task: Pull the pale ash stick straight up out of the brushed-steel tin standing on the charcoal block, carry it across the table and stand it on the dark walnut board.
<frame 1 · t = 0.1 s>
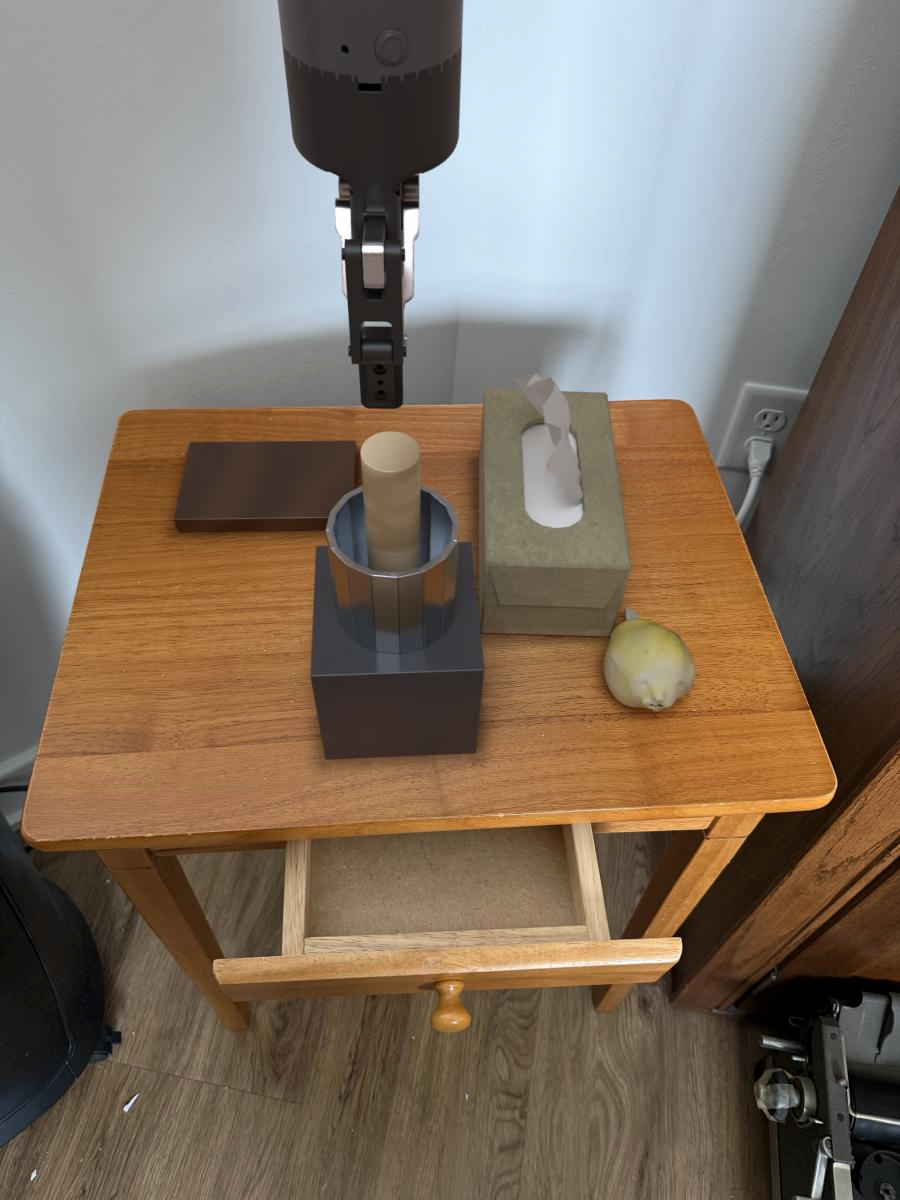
hand: (384, 354, 50), 22 cm above the table, tool pointing down, fingers open, 8 cm apart
stick: (395, 599, 54), point 10 cm above the table, touching tin
tissue box: (539, 545, 71), on the table
tin: (395, 604, 54), resting on stand
stand: (398, 692, 62), on the table
board: (270, 491, 74), on the table
fruit: (634, 674, 64), on the table
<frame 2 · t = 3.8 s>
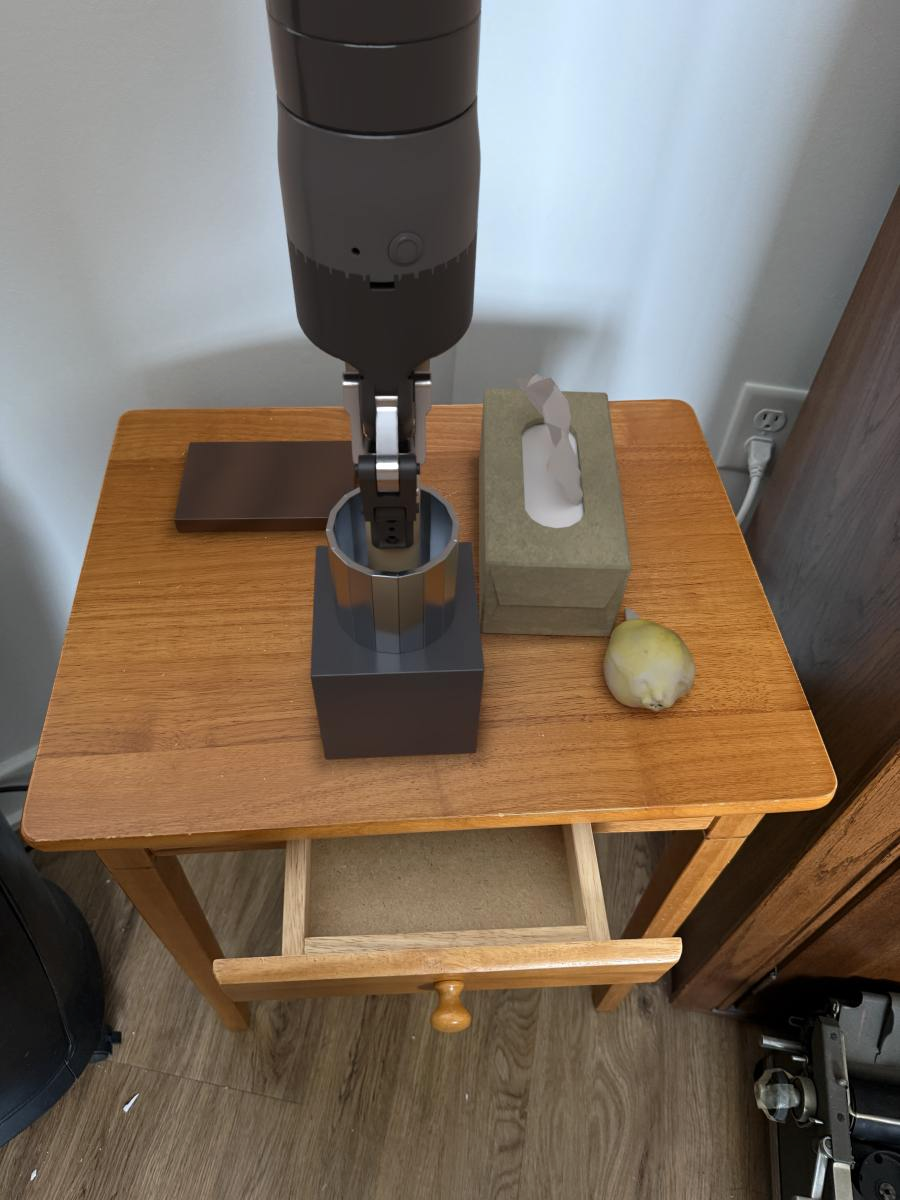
hand: (392, 518, 48), 18 cm above the table, tool pointing down, fingers closed on stick, 3 cm apart
stick: (395, 599, 54), point 11 cm above the table, touching gripper, tin
everything else where it was.
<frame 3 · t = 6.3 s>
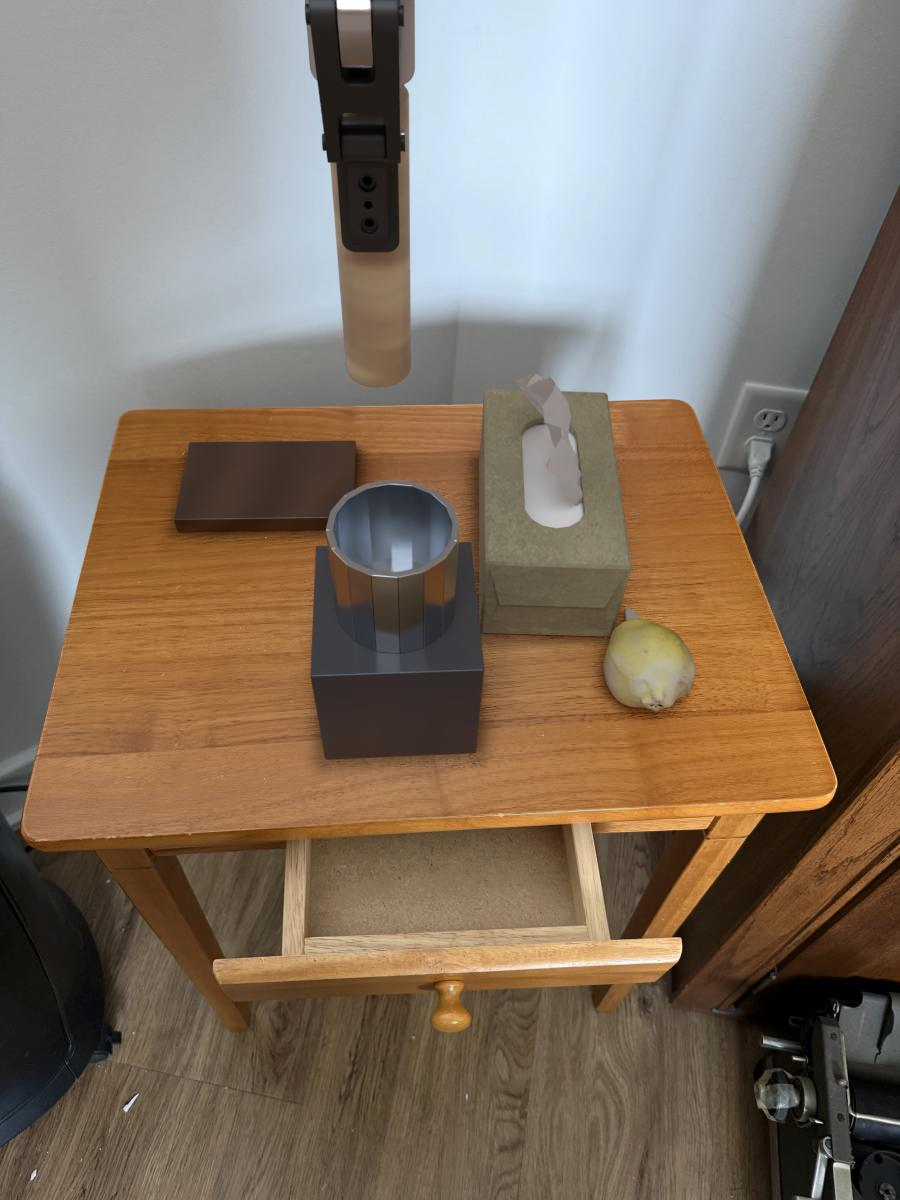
hand: (371, 221, 36), 34 cm above the table, tool pointing down, fingers closed on stick, 3 cm apart
stick: (378, 367, 41), point 27 cm above the table, touching gripper
everything else where it was.
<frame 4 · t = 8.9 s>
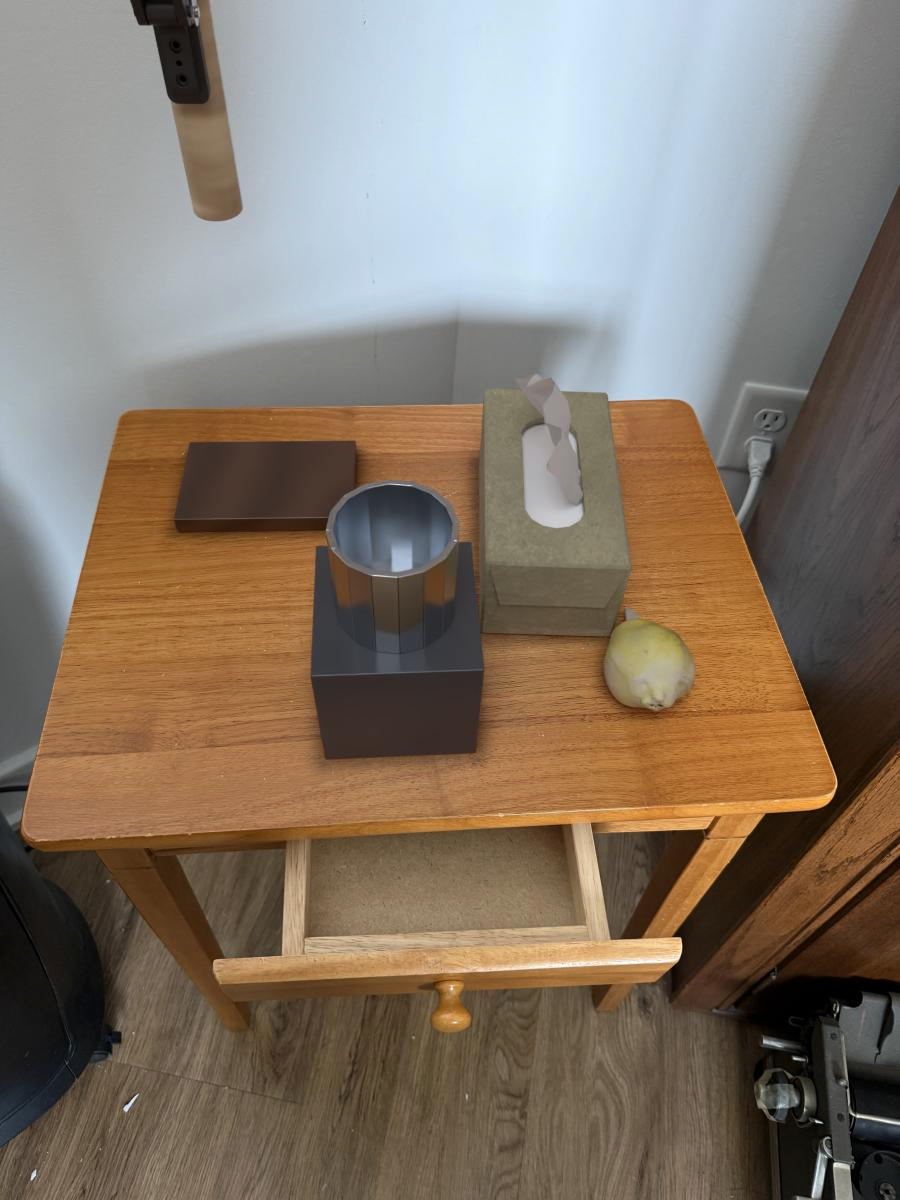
hand: (194, 85, 49), 31 cm above the table, tool pointing down, fingers closed on stick, 3 cm apart
stick: (218, 209, 55), point 24 cm above the table, touching gripper
everything else where it was.
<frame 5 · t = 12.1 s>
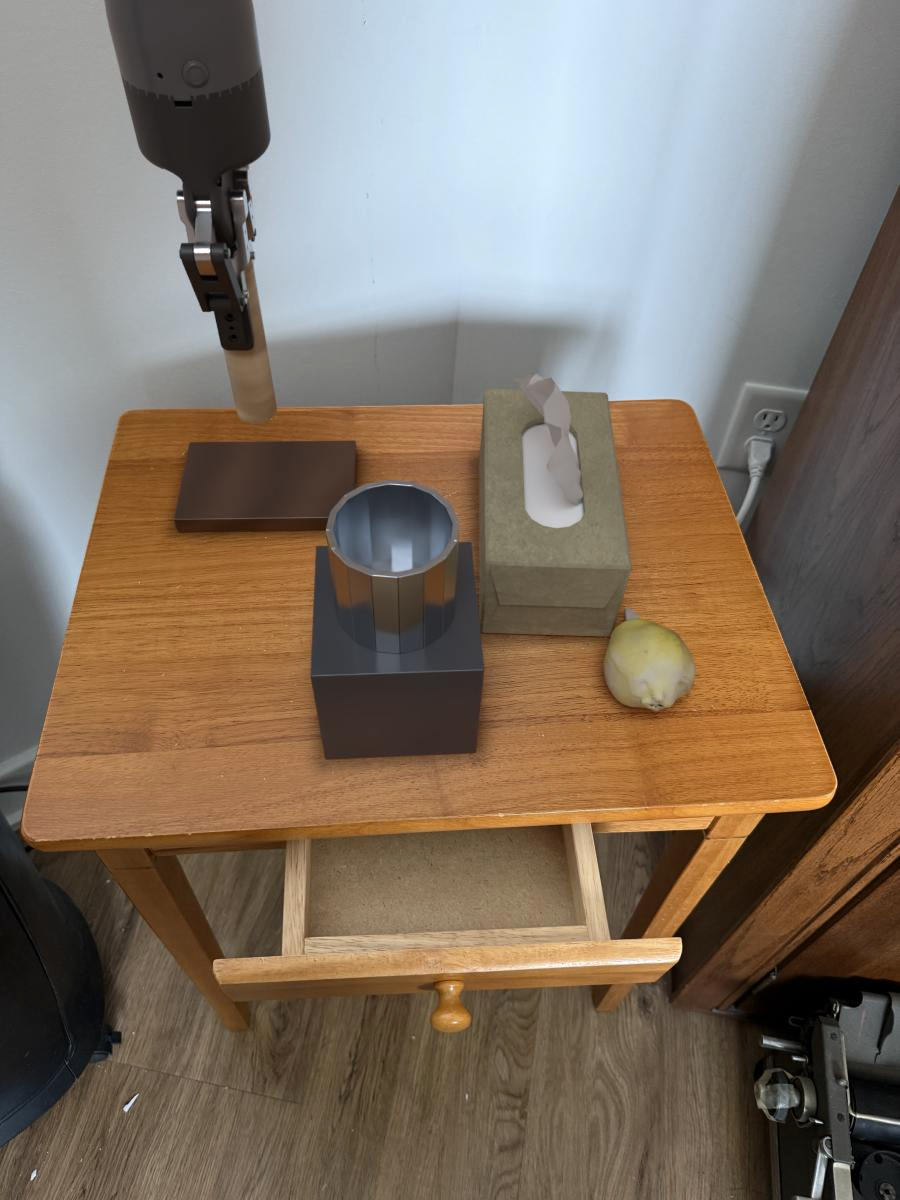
hand: (241, 330, 61), 16 cm above the table, tool pointing down, fingers closed on stick, 3 cm apart
stick: (257, 411, 67), point 8 cm above the table, touching gripper
everything else where it was.
when the fingers open (9 cm above the table, at t = 14.3 s): stick stays where it is, resting on board.
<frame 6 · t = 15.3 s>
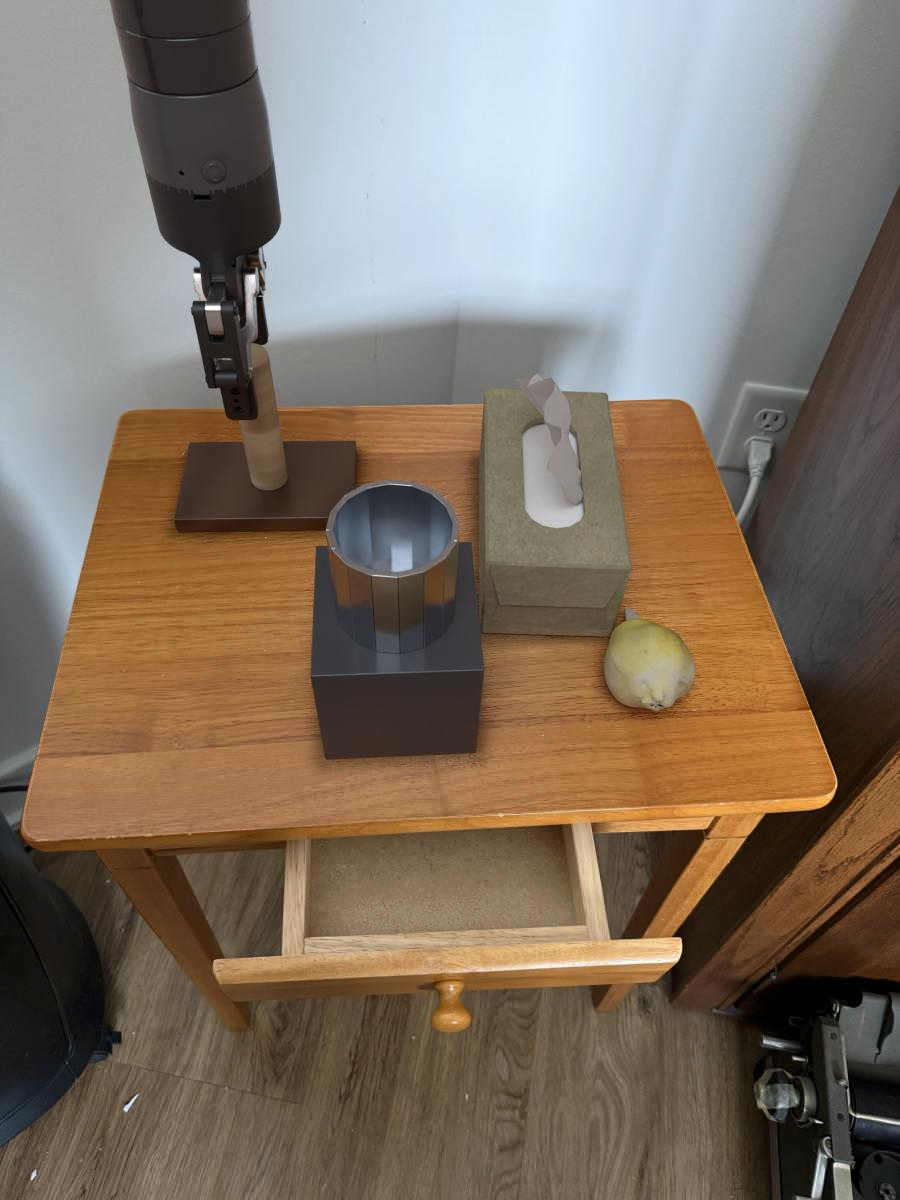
hand: (249, 378, 65), 12 cm above the table, tool pointing down, fingers open, 8 cm apart
stick: (269, 477, 73), point 1 cm above the table, touching board
everything else where it was.
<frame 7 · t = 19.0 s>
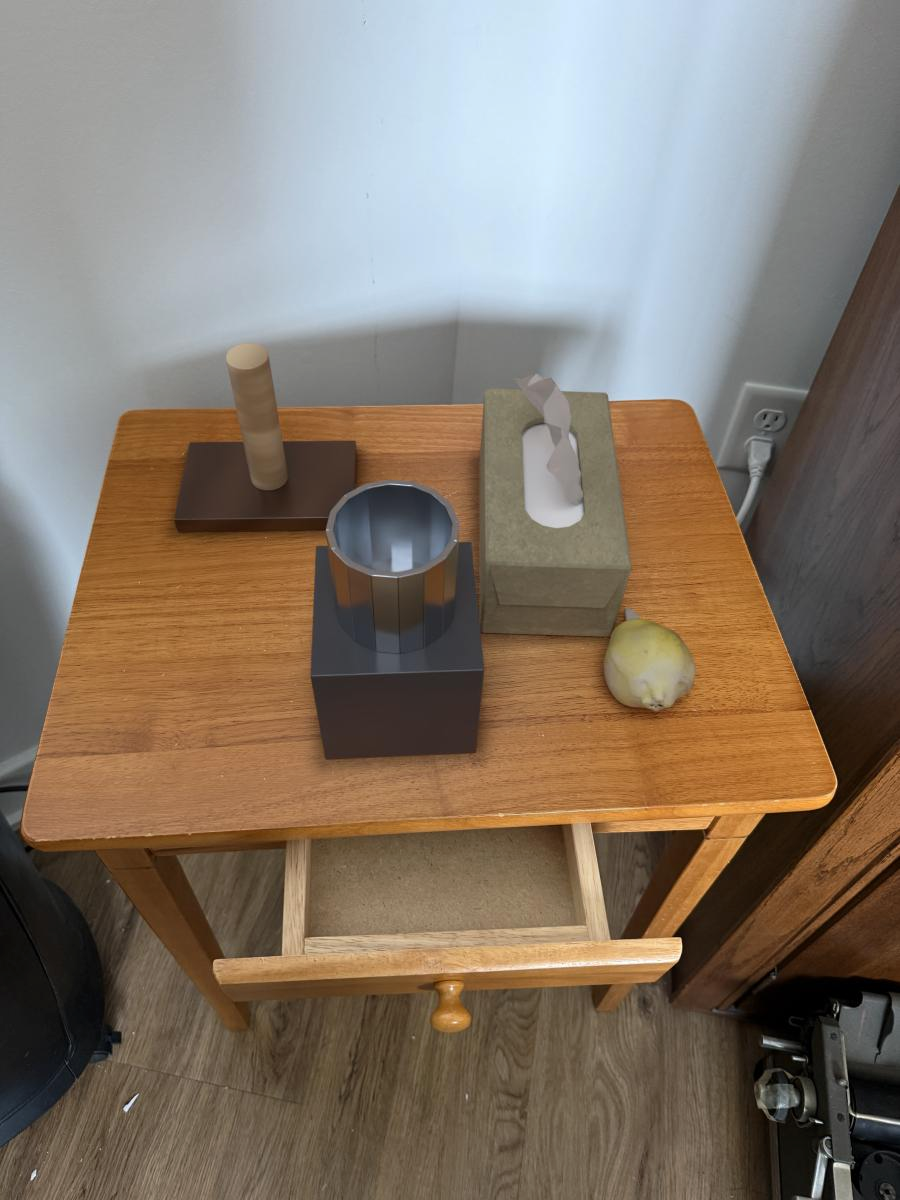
nothing on the table moved.
at the end: stick inside the target area on the board (0.1 cm from its centre), point 1.5 cm above the board's base; the gripper is holding nothing; stick touching board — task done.
